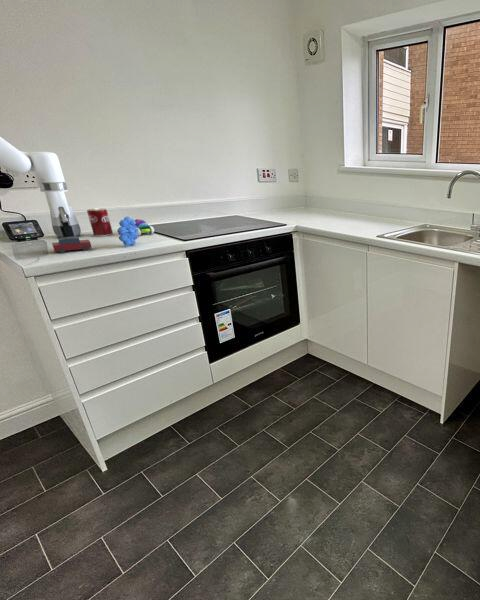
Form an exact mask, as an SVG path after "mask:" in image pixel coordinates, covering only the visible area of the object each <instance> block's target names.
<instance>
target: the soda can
mask: <svg viewBox="0 0 480 600" xmlns="http://www.w3.org/2000/svg"><path fill="white" fill-rule="evenodd" d="M86 213H87V216H88V220H89V223H90V227H91V230H92V234H93V236H95V237H108V236H112V235H113V233H114V232H113V228H112V224H111V221H110V217H109V212H108V209H106V208H88V209H87V210H86Z"/></svg>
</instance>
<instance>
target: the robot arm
mask: <svg viewBox="0 0 480 600" xmlns="http://www.w3.org/2000/svg"><path fill="white" fill-rule="evenodd" d="M0 167H1V168H3V169H5V170H6V171H8V172H11V173H12V174H13V173H14V174H24V173H31V172H34V176H35V178H36V181H37V184H38V189H39V190H40V192H41V193H44V194H45V198H46V202H47V205H48V208H49V212H50V211H51V215H52V217H53V218H54V219H56V218H58V220H59V223H60V228H61V231H62V235H63V236H64V237H70V236H74V233H73V230H72V227H71V225H70V222H69V219H68V218H71V216H70V211H69V207H68V205H69V203H68V200H67V196H66V194H65V193H66V192H69V189H68V186H67V182H66V180H65V176H64V174H63V170H62V166H61V163H60V160H59V156H58V155H57V153H56V152H55V153H54V152H52V151H21V150H19V149H17V147H15V146H13V144H11V143H9V142H8V141H7V140H5V138H3V137H2V136H0ZM51 215H50V216H51Z"/></svg>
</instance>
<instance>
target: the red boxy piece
mask: <svg viewBox="0 0 480 600" xmlns="http://www.w3.org/2000/svg"><path fill="white" fill-rule="evenodd" d="M51 245H52V248H53V251H54V252H58V253H59V254H64V253H66V251H67V252H68V251H75V250H83V251H86V252H87V251H89V249H92V248H93V246H92V243H91V241H90V239H80V238H79V236H74V237H62V238H61V237H57V241H55V242H52V244H51Z"/></svg>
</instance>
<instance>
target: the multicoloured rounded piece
mask: <svg viewBox="0 0 480 600" xmlns="http://www.w3.org/2000/svg"><path fill="white" fill-rule="evenodd" d="M134 220H135V222H136V224H135V226H137V227H138V231H137V232H135V233H136V234H137V235H138V237H140V236H141V235H142V234H145V233H146V234H150V235H152V234H154V233H155V228H154V226H152V225H150V224H148V223H147V222H146V221H145V220H144V219H141V218H140V219H139V218H136V219H134Z"/></svg>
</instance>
